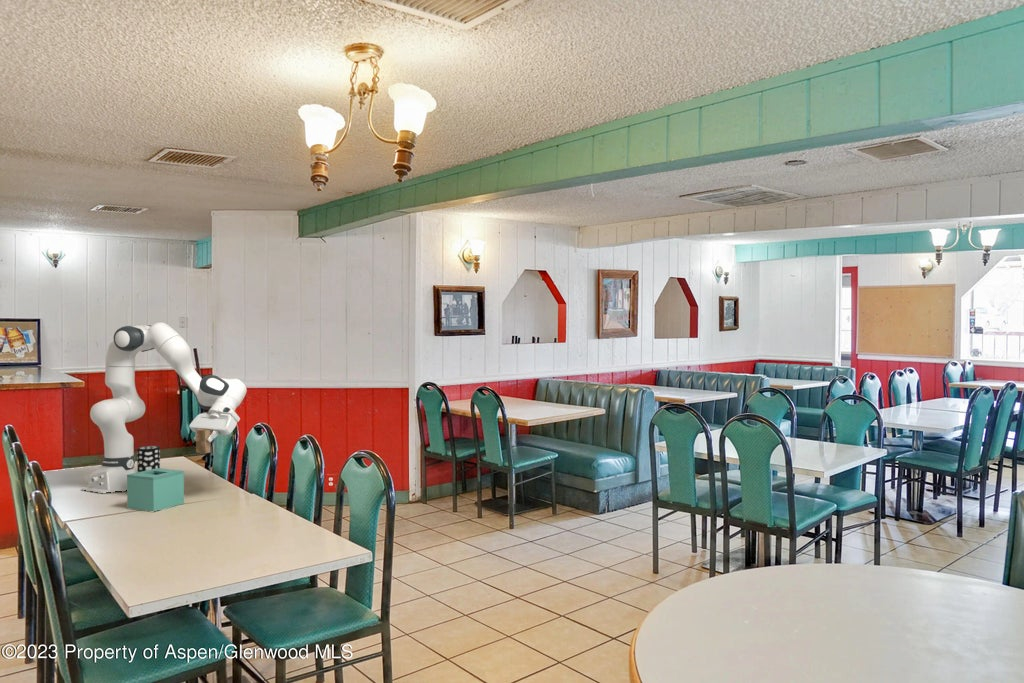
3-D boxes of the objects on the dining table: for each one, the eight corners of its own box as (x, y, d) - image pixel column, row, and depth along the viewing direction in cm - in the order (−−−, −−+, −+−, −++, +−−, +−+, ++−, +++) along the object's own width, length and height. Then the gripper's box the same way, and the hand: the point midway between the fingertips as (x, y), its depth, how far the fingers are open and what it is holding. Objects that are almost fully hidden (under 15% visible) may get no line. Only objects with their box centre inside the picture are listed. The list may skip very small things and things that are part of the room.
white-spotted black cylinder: (165, 494, 302) (164, 446, 302) (149, 499, 295) (148, 449, 294) (149, 493, 305) (148, 445, 305) (133, 497, 297) (132, 448, 297)
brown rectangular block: (196, 452, 292) (196, 429, 292) (201, 451, 294) (200, 429, 294) (205, 453, 290) (205, 430, 290) (210, 452, 292) (210, 429, 292)
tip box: (127, 508, 280) (126, 474, 280) (158, 500, 293) (157, 468, 292) (153, 512, 274) (153, 477, 274) (184, 503, 287) (183, 470, 287)
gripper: (197, 407, 302) (178, 434, 294) (235, 409, 294) (216, 437, 285) (205, 416, 307) (187, 443, 298) (243, 419, 298) (225, 447, 290)
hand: (201, 440), depth 292 cm, fingers closed on brown rectangular block, 5 cm apart
